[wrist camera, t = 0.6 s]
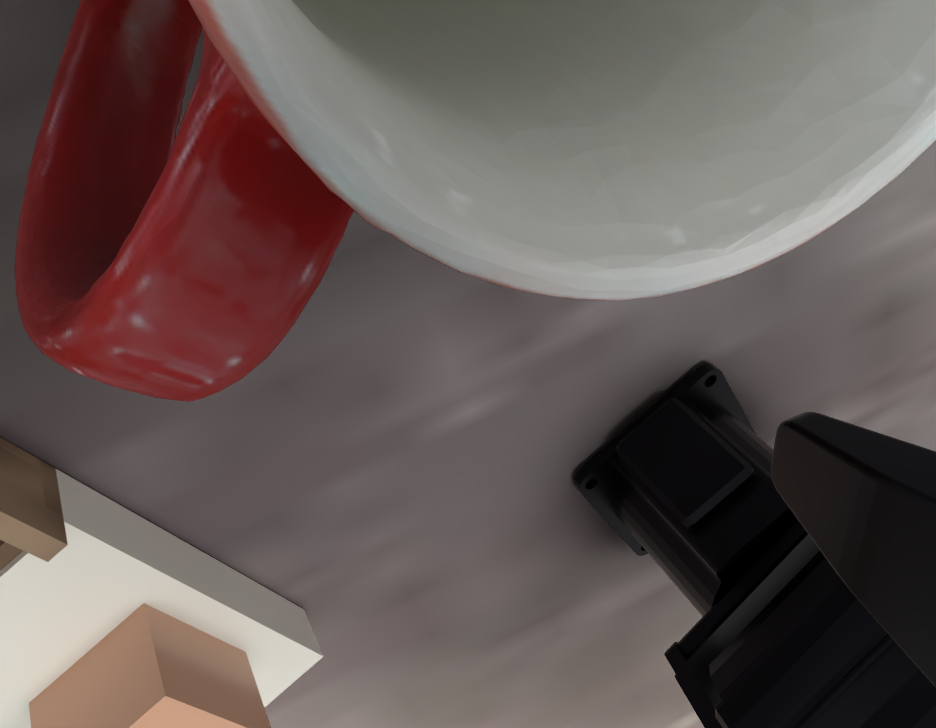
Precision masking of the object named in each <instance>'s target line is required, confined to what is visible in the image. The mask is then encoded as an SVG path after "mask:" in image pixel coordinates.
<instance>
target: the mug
mask: <svg viewBox="0 0 936 728" xmlns="http://www.w3.org/2000/svg"><path fill="white" fill-rule="evenodd" d="M202 27H203V56H202V63H201V68H200V72H199V77H198V80H197V83H196V86H195V88H194V91H193V94H192V97H191V99H190V102H189V104H188V107H187V110H186V112H185V115H184V117H183V120H182V122H181V125H180V127H179V130H178V133H177V136H176V129H177V126H178V123H179V119H180V114H181V109H182V101H183V97H184V95H185V86H186V82H187V78H188V75H189V72H190V68H191V65H192V62H193V58H194V52H195V49H196V46H197V42H198V39H199V36H200V33H201V30H202ZM935 140H936V0H81V1H80V4H79V7H78V10H77V13H76V16H75V19H74V22H73V25H72V28H71V31H70V34H69V37H68V40H67V43H66V46H65V49H64V52H63V55H62V58H61V61H60V64H59V67H58V70H57V73H56V77H55V80H54V84H53V88H52V91H51V95H50V98H49V102H48V105H47V109H46V112H45V116H44V119H43V122H42V126H41V129H40V132H39V135H38V139H37V142H36V146H35V150H34V153H33V157H32V161H31V165H30V169H29V173H28V178H27V184H26V189H25V194H24V199H23V204H22V209H21V214H20V220H19V228H18V236H17V245H16V257H15V280H16V294H17V301H18V307H19V312H20V315H21V318H22V322H23V325H24V328H25V330H26V332H27V334H28V336H29V337H30V339H31V340H32V341H33V342H34V343H35V345H36V346H37V347H38V348H39V349H40V350H41V352H42V353H44V354H45V355H47V356H48V357H50V358H51V359H53V360H54V361H56V362H57V363H59V364H60V365H62V366H63V367H65V368H66V369H68V370H69V371H71V372H74V373H77V374H80V375H83V376H86V377H89V378H92V379H94V380H97V381H100V382H103V383H105V384H108V385H110V386H114V387H118V388H122V389H125V390H129V391H133V392H137V393H140V394H144V395H148V396H151V397H155V398H163V399H171V400H179V401H188V402H191V401H195V400H198V399H202V398H205V397H207V396H210V395H212V394H215V393H217V392H220V391H221V390H223V389H225V388H226V387H228V386H230V385H232V384H233V383H235V382H237V381H239V380H240V379H242V378H243V377H244V376H246V375H247V374H248V373H249V372H250V371H252V370H253V369H254V368H255V367H256V366H258V365H259V364H260V363H261V362H263V361H264V360H265V359H266V358H267V357H268V356H269V355H270V353H271V352H272V351H273V350H274V349H275V348H276V347H277V345H278V344H279V343H280V342H281V340H282V339H283V338H284V337H285V335H286V334H287V333H288V331H289V330H290V329H291V327H292V326H293V325H294V323H295V322H296V320H297V319H298V317H299V315H300V314H301V312H302V310H303V309H304V307H305V305H306V304H307V302H308V301H309V299H310V297H311V296H312V294H313V293H314V291H315V290H316V288H317V286H318V285H319V283H320V281H321V280H322V278H323V276H324V274H325V272H326V270H327V268H328V266H329V264H330V262H331V260H332V258H333V255H334V253H335V251H336V249H337V247H338V245H339V243H340V241H341V239H342V237H343V234H344V232H345V229H346V226H347V224H348V221H349V219H350V217H351V216H352V214H353V212H354V211H356V212H357V213H358V214H359V215H360V216H362V217H363V218H364V219H365V220H367V221H368V222H369V223H370V224H371V225H373V226H374V227H375V228H377V229H380V230H382V231H385V232H387V233H389V234H390V235H392V236H394V237H395V238H397V239H398V240H400V241H402V242H403V243H405V244H406V245H408V246H410V247H411V248H413V249H415V250H417V251H419V252H421V253H423V254H425V255H427V256H429V257H431V258H433V259H435V260H437V261H439V262H441V263H442V264H444V265H446V266H448V267H450V268H452V269H454V270H456V271H458V272H461V273H464V274H467V275H470V276H472V277H475V278H478V279H481V280H484V281H487V282H490V283H492V284H495V285H498V286H502V287H507V288H511V289H515V290H519V291H523V292H529V293H536V294H543V295H549V296H555V297H561V298H567V299H582V300H629V299H635V298H658V297H661V296H665V295H669V294H673V293H677V292H680V291H684V290H689V289H693V288H697V287H700V286H704V285H707V284H711V283H714V282H718V281H721V280H723V279H726V278H729V277H731V276H734V275H737V274H739V273H742V272H745V271H747V270H750V269H752V268H755V267H757V266H760V265H762V264H764V263H766V262H768V261H770V260H772V259H774V258H777V257H779V256H781V255H783V254H785V253H787V252H789V251H791V250H793V249H795V248H797V247H799V246H801V245H802V244H804V243H805V242H807V241H809V240H810V239H812V238H814V237H815V236H817V235H818V234H820V233H822V232H823V231H825V230H826V229H828V228H829V227H831V226H832V225H834V224H835V223H837V222H838V221H839V220H841V219H842V218H844V217H845V216H847V215H848V214H849V213H851V212H852V211H854V210H855V209H857V208H858V207H859V206H860V205H862V204H863V203H864V202H865V201H867V200H868V199H869V198H871V197H872V196H873V195H874V194H876V193H877V192H878V191H879V190H881V189H882V188H883V187H884V186H886V185H887V184H888V183H890V182H891V181H892V180H893V179H895V178H896V177H897V176H898V175H899V174H900V173H901V172H903V171H904V170H905V169H906V168H907V167H908V166H909V165H910V164H911V163H912V162H913V161H914V160H915V159H916V158H917V157H918V156H919V155H920V154H922V153H923V152H924V151H925V150H926V149H927V148H928V147H929V146H930V145H931V144H932V143H933V142H934V141H935Z"/></svg>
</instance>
